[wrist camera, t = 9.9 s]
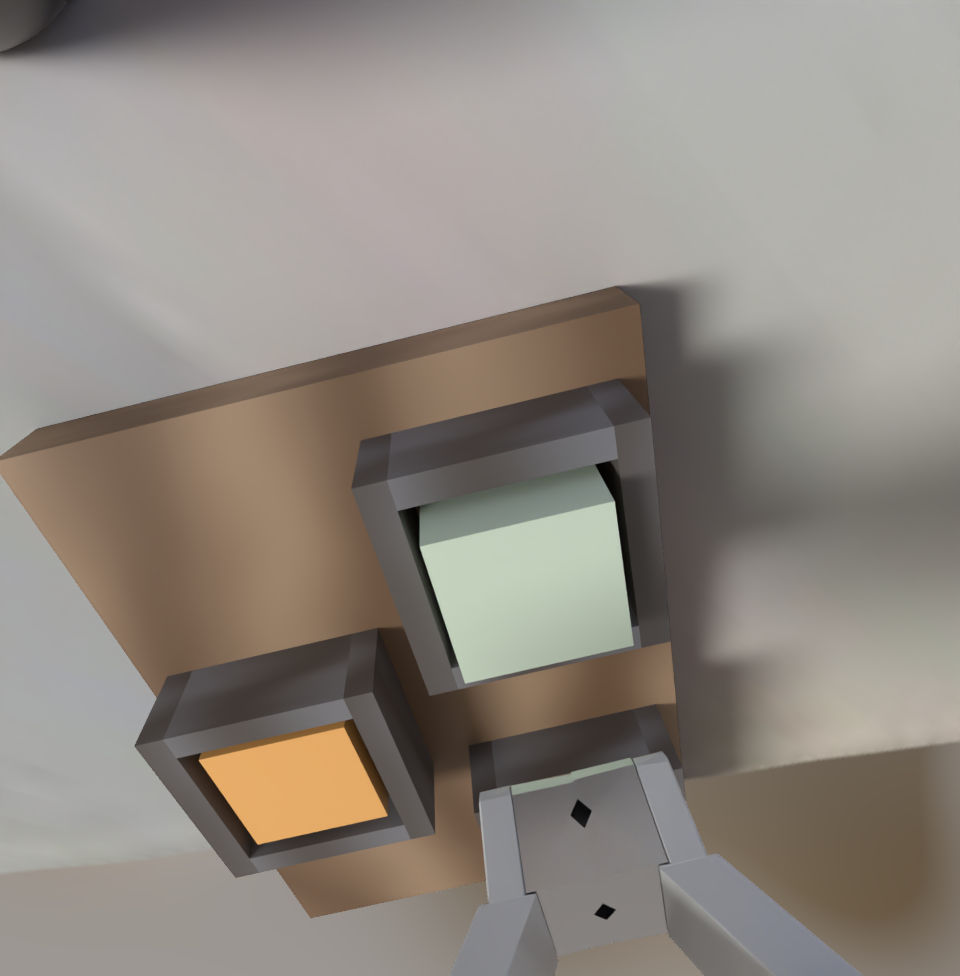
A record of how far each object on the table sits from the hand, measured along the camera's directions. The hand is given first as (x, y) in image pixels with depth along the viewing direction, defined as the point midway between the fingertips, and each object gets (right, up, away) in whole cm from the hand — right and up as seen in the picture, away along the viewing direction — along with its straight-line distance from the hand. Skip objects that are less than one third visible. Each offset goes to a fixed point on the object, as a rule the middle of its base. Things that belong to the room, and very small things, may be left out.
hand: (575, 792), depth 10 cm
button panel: (-3, -1, +12) cm, 13 cm away
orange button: (-7, -3, +10) cm, 13 cm away
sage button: (-1, +3, +6) cm, 7 cm away
